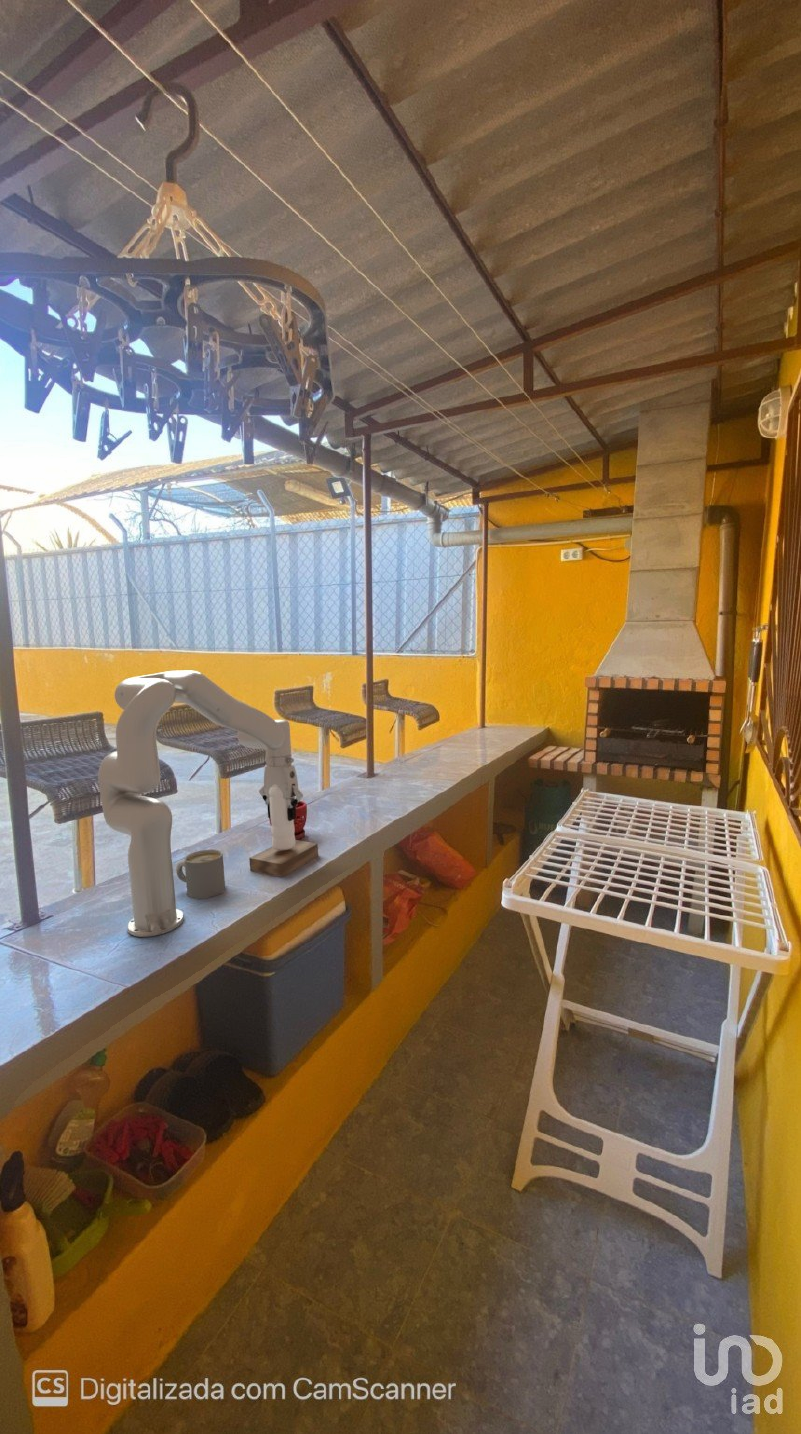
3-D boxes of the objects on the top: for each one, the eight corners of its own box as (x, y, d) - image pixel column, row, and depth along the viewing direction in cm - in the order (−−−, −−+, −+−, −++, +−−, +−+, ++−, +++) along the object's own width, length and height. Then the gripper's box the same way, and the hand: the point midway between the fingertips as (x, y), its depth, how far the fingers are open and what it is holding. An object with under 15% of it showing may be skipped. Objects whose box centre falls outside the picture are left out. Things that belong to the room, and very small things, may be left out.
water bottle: (282, 852, 167) (278, 770, 164) (267, 848, 171) (262, 768, 168) (300, 845, 173) (296, 766, 170) (285, 841, 177) (280, 763, 174)
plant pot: (304, 843, 190) (302, 809, 188) (266, 844, 190) (263, 809, 189) (311, 830, 203) (309, 798, 201) (275, 831, 203) (273, 799, 202)
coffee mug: (232, 885, 157) (230, 851, 156) (207, 901, 148) (204, 865, 147) (196, 879, 163) (193, 846, 162) (169, 893, 154) (166, 858, 153)
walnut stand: (318, 855, 178) (317, 843, 177) (281, 877, 162) (281, 864, 162) (288, 850, 183) (287, 838, 183) (250, 870, 168) (249, 858, 167)
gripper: (309, 760, 168) (312, 818, 170) (264, 756, 176) (268, 811, 178) (294, 765, 161) (297, 825, 164) (248, 761, 169) (251, 818, 172)
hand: (282, 817), depth 171 cm, fingers closed on water bottle, 7 cm apart
